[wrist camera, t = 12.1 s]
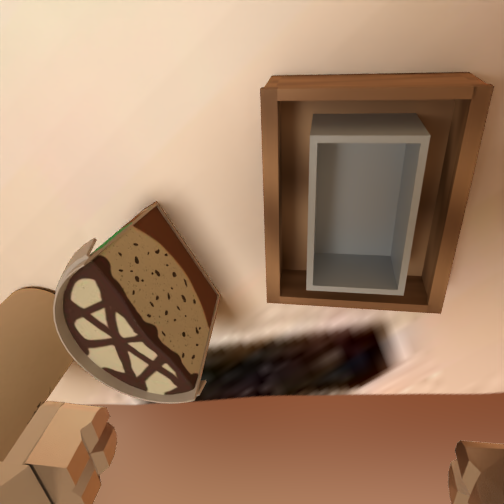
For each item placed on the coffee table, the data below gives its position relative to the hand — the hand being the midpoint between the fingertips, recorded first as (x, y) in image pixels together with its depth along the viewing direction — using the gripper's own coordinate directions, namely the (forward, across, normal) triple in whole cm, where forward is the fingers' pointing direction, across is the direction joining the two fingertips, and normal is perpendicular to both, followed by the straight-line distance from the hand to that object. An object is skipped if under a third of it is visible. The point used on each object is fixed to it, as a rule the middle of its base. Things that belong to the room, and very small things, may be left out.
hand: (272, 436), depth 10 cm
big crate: (+21, -3, +3) cm, 22 cm away
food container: (+22, +12, +10) cm, 27 cm away
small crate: (+21, -3, +3) cm, 21 cm away
